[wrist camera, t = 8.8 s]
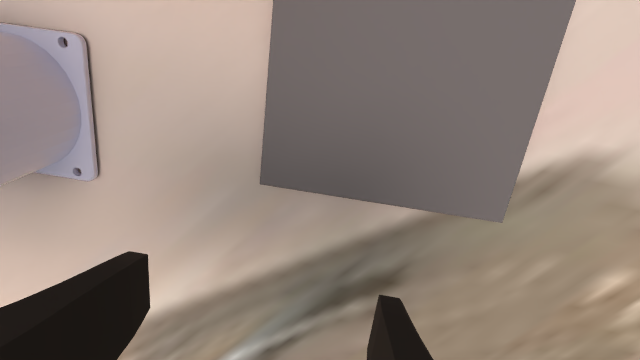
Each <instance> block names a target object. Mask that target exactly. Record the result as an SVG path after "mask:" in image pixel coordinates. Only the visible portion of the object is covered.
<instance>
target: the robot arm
mask: <svg viewBox="0 0 640 360" xmlns="http://www.w3.org/2000/svg"><path fill="white" fill-rule="evenodd" d="M64 38H65V39H66V40H67V42H68V46H67V47H66V46H65V44H64V42H63V40H64ZM77 168H79V169H80V170H81V172H82V174H81V173H79V171H78V169H77ZM33 172H34V173H40V174H46V175H52V176H59V177H65V178H71V179H77V180H83V181H91V180H93V179H95V178H96V177H97V175H98V169H97V158H96V147H95V136H94V125H93V114H92V102H91V91H90V80H89V69H88V58H87V47H86V42H85V40H84V38H83V37H82V36H81V35H80V34H77V33H72V32H65V31H58V30H51V29H43V28H36V27H29V26H22V25H15V24H8V23H1V22H0V187H1V186H3V185H5V184H7V183H10V182H12V181H14V180H17V179H19V178H21V177H23V176H26V175H28V174H30V173H33ZM149 309H150V294H149V271H148V255H147V254H142V253H136V252H130V251H129V252H126V253H124V254H121V255H119V256H117V257H114V258H112V259H110V260H108V261H106V262H104V263H102V264H99V265H97V266H95V267H93V268H91V269H89V270H87V271H85V272H83V273H80V274H78V275H76V276H74V277H72V278H70V279H68V280H66V281H63V282H61V283H59V284H57V285H54V286H52V287H50V288H47V289H45V290H43V291H40V292H38V293H36V294H33V295H31V296H29V297H26V298H24V299H22V300H19V301H17V302H14V303H12V304H9V305H6V306H4V307H1V308H0V360H117V359H118V357H119V356H120V355H121V353H122V352H123V351H124V349H125V348H126V347H127V345H128V344H129V342H130V341H131V340H132V338H133V337H134V335H135V334H136V332H137V330H138V329H139V327H140V325H141V323H142V322H143V320H144V318H145V316H146V314H147V313H148V311H149ZM367 360H433V358H432V357H431V355H430V353H429V352H428V350H427V348H426V347H425V345H424V343H423V342H422V340H421V338H420V336H419V334H418V333H417V331H416V329H415V327H414V325H413V323H412V321H411V319H410V317H409V315H408V313H407V311H406V309H405V307H404V305H403V303H402V301H401V300H400V298H395V297H389V296H383V295H379V297H378V302H377V306H376V311H375V315H374V320H373V325H372V329H371V334H370V338H369V343H368V348H367Z"/></svg>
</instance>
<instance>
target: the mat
mask: <svg viewBox="0 0 640 360" xmlns="http://www.w3.org/2000/svg"><path fill="white" fill-rule="evenodd" d="M575 2H576V0H273V12H272V26H271V39H270V53H269V67H268V80H267V94H266V108H265V121H264V135H263V149H262V162H261V176H260V184H262V185H268V186H275V187H281V188H287V189H293V190H300V191H306V192H312V193H318V194H325V195H331V196H337V197H343V198H350V199H356V200H362V201H368V202H375V203H381V204H387V205H393V206H400V207H406V208H412V209H418V210H425V211H431V212H437V213H443V214H450V215H456V216H462V217H468V218H475V219H481V220H487V221H493V222H500V223H502V222H503V219H504V216H505V213H506V210H507V207H508V204H509V201H510V198H511V195H512V192H513V189H514V186H515V183H516V180H517V177H518V174H519V171H520V168H521V165H522V161H523V158H524V155H525V152H526V149H527V146H528V143H529V140H530V137H531V134H532V131H533V128H534V125H535V122H536V119H537V116H538V113H539V110H540V107H541V104H542V101H543V98H544V95H545V92H546V89H547V86H548V83H549V80H550V77H551V74H552V71H553V68H554V65H555V62H556V59H557V56H558V53H559V50H560V47H561V44H562V41H563V38H564V35H565V32H566V29H567V26H568V23H569V20H570V17H571V14H572V11H573V8H574V5H575Z"/></svg>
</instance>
